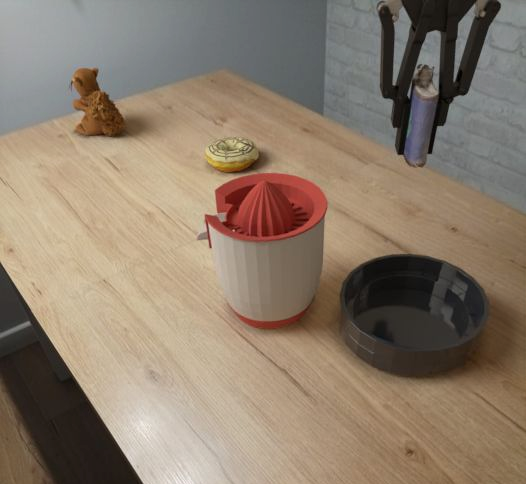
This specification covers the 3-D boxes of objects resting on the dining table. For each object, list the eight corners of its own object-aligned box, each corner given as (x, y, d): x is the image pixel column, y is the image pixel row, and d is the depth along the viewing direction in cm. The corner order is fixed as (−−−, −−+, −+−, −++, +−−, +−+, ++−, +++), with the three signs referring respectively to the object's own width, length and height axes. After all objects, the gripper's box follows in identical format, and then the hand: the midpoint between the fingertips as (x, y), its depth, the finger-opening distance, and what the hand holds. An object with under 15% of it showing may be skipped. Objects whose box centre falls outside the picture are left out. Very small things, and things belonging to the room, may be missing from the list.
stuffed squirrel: (108, 115, 127) (92, 57, 117) (140, 132, 120) (126, 71, 110) (72, 129, 123) (52, 69, 113) (102, 147, 115) (85, 85, 106)
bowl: (458, 280, 79) (467, 251, 75) (496, 377, 66) (509, 348, 62) (332, 285, 80) (334, 256, 75) (344, 381, 66) (347, 353, 62)
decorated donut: (268, 163, 107) (267, 145, 104) (225, 180, 103) (223, 162, 100) (240, 145, 113) (238, 128, 110) (198, 161, 109) (195, 144, 106)
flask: (427, 168, 66) (443, 79, 58) (403, 168, 66) (417, 79, 58) (420, 136, 72) (435, 51, 64) (399, 136, 72) (410, 52, 65)
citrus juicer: (220, 267, 84) (203, 148, 69) (327, 273, 81) (333, 152, 67) (196, 335, 74) (170, 213, 59) (318, 345, 71) (323, 220, 56)
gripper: (375, -64, 50) (355, 165, 67) (546, -73, 49) (481, 161, 66) (366, -78, 55) (350, 139, 72) (522, -86, 54) (467, 135, 71)
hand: (413, 149), depth 69 cm, fingers closed on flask, 3 cm apart
